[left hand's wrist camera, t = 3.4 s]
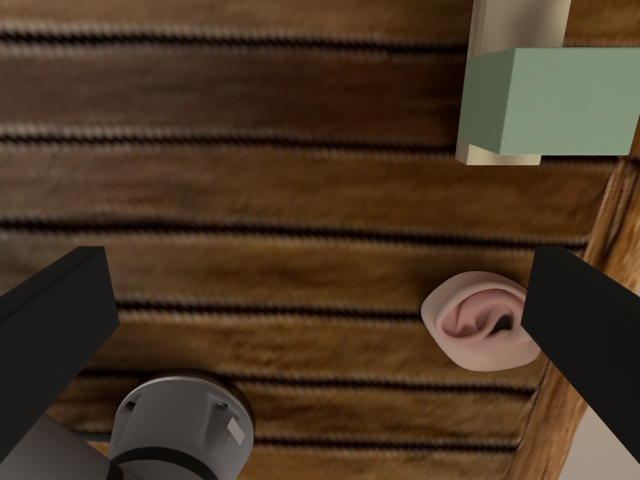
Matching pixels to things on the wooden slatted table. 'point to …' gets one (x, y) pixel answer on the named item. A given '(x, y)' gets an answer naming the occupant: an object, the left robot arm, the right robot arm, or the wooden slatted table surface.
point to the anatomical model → (480, 321)
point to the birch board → (506, 33)
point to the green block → (552, 101)
